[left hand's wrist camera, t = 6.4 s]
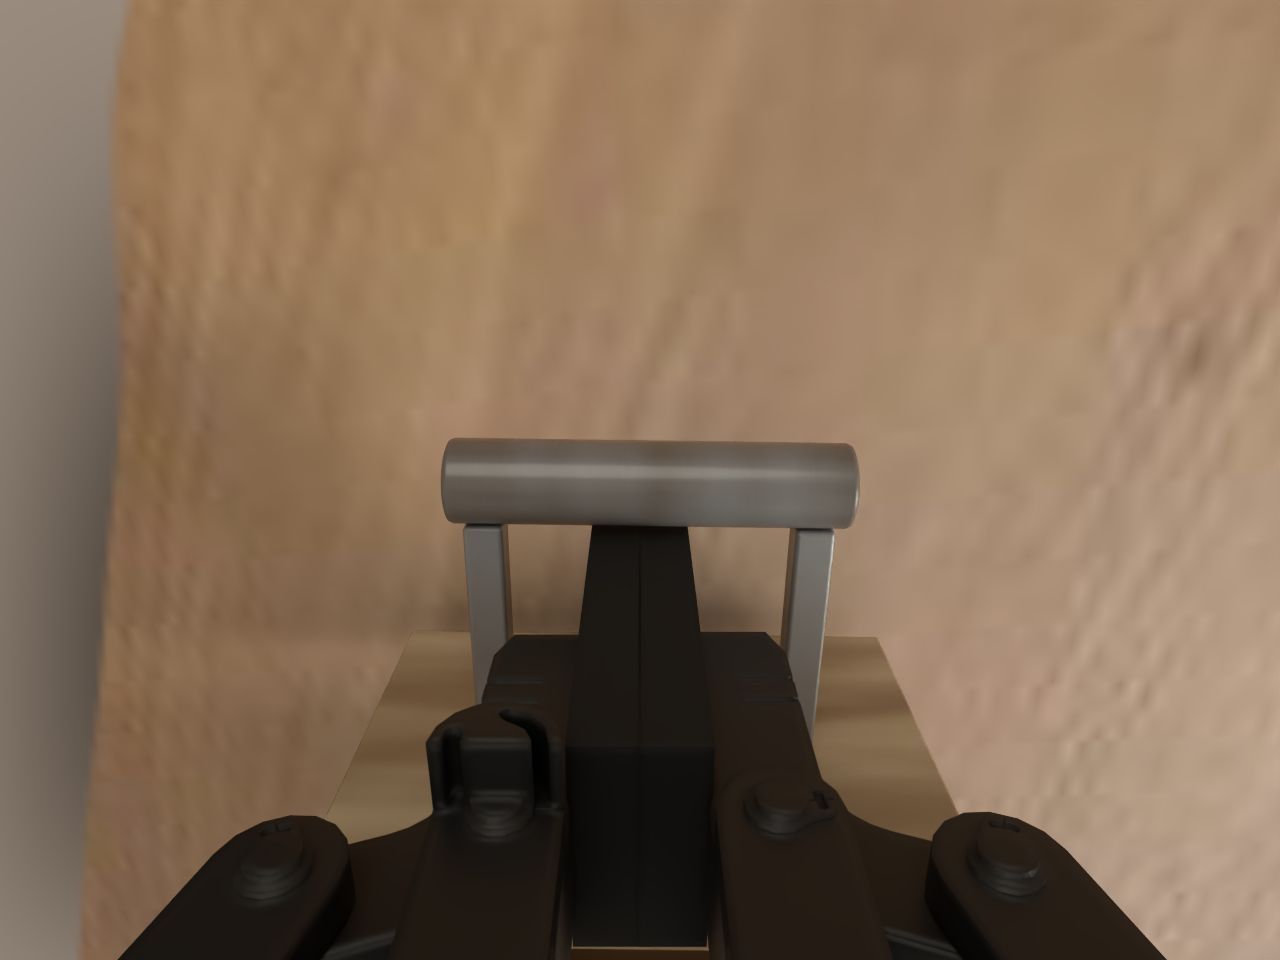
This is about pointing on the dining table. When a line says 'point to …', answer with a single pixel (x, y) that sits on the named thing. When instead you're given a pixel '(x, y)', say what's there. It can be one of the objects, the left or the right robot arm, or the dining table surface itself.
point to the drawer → (460, 661)
